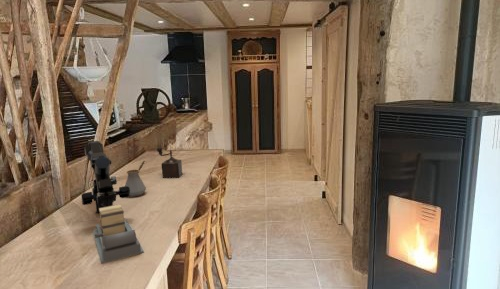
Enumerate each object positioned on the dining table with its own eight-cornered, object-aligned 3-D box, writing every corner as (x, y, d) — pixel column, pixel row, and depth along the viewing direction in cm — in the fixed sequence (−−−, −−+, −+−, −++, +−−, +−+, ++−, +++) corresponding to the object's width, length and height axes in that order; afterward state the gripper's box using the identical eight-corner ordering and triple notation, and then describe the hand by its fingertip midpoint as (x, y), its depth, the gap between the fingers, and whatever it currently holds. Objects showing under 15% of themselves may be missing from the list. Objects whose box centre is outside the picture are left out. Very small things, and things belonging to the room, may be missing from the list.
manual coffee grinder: (183, 173, 228) (181, 145, 225) (178, 178, 217) (176, 149, 214) (159, 173, 229) (157, 146, 226) (154, 178, 218) (151, 150, 215)
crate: (101, 231, 142) (98, 208, 140) (122, 227, 146) (120, 204, 144) (103, 238, 136) (100, 214, 134) (125, 233, 140) (123, 209, 138)
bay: (90, 232, 143) (88, 210, 142) (128, 224, 150) (126, 202, 149) (98, 264, 118) (95, 237, 117) (143, 252, 125) (141, 227, 123)
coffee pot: (140, 198, 183) (138, 170, 180) (119, 198, 184) (116, 170, 181) (156, 185, 204) (154, 160, 201) (137, 185, 205) (135, 160, 202)
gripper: (78, 174, 143) (84, 208, 135) (126, 167, 151) (134, 199, 144) (79, 188, 151) (85, 221, 144) (125, 180, 160) (132, 211, 152)
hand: (109, 213), depth 146 cm, fingers closed
